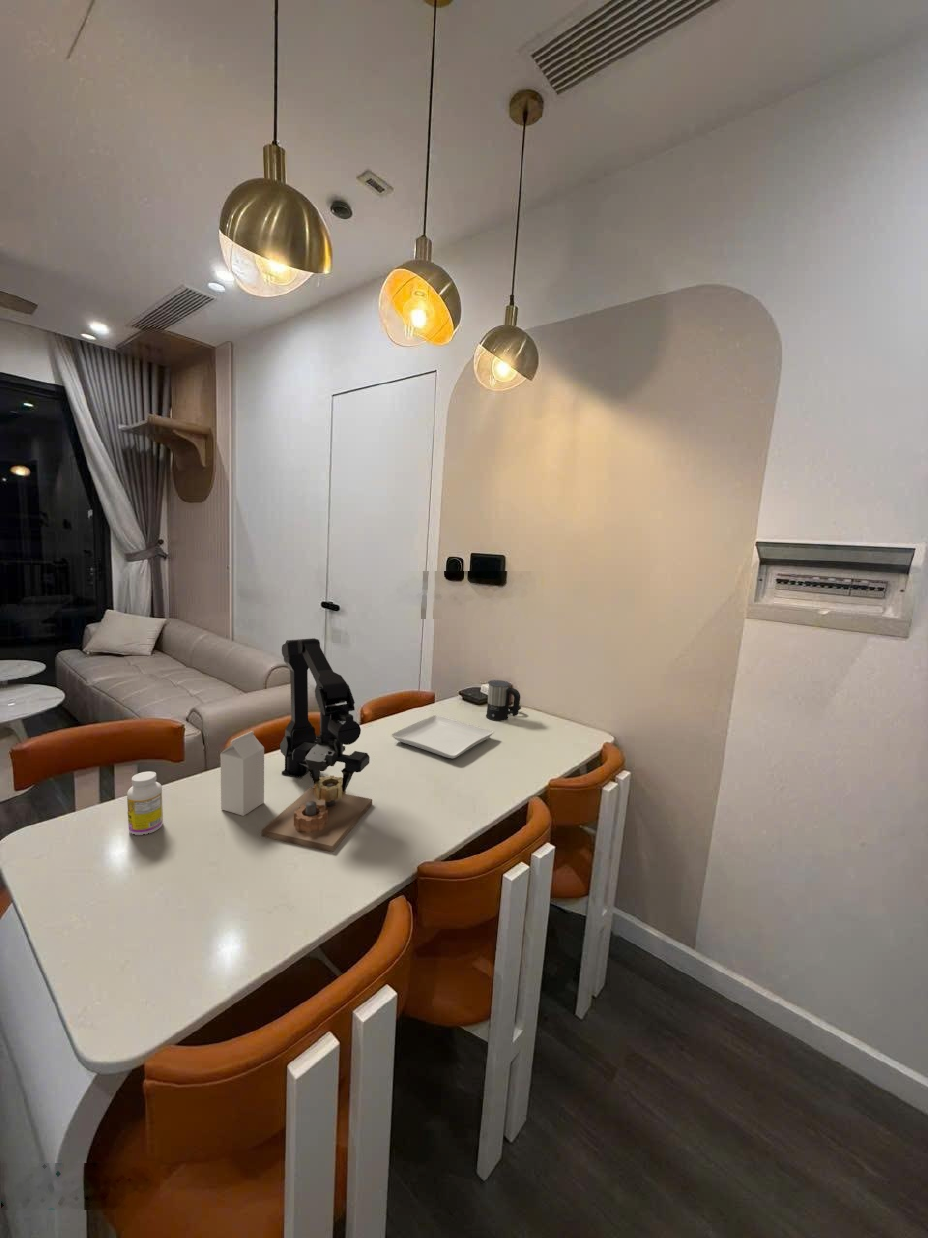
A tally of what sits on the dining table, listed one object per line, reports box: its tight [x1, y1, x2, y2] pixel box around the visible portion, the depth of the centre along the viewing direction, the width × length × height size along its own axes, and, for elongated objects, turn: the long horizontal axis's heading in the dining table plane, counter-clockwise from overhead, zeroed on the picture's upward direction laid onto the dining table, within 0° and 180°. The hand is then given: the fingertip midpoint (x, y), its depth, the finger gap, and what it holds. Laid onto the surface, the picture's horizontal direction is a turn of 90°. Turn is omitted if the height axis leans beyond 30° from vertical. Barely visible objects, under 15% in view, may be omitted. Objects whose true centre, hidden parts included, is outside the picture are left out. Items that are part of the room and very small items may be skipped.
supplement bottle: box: [126, 771, 164, 836], centre depth 109 cm, size 7×7×13 cm
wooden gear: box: [313, 775, 347, 802], centre depth 122 cm, size 7×7×3 cm
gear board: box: [261, 784, 373, 853], centre depth 118 cm, size 18×21×6 cm
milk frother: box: [485, 679, 522, 722], centre depth 200 cm, size 14×16×15 cm
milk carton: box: [220, 730, 265, 817], centre depth 120 cm, size 7×7×19 cm
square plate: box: [390, 714, 495, 759], centre depth 170 cm, size 27×27×4 cm
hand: (330, 788), depth 122 cm, fingers closed on wooden gear, 7 cm apart
